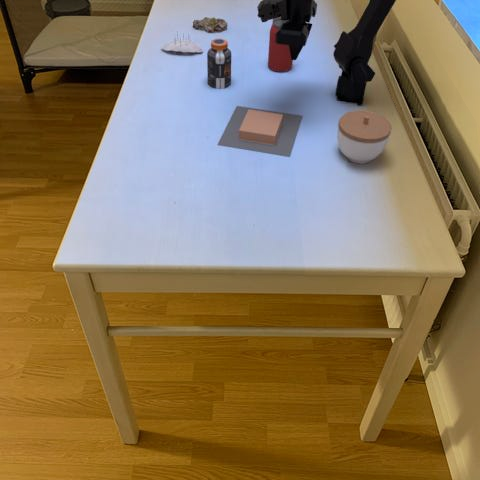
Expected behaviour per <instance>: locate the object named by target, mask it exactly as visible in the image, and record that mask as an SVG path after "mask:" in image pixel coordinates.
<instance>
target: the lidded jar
mask: <svg viewBox="0 0 480 480" xmlns="http://www.w3.org/2000/svg"><path fill="white" fill-rule="evenodd" d="M392 128H393V127H392V124H391V122H390V121H389V120H388V119H387V118H386V117H385V116H383V115H381V114H379V113H376V112H373V111H370V110H352V111H348V112H345V113H344V114H343V115H341V116H340V118H339V120H338V127H337V135H336V137H337V145H338V148H339V150H340V152H341V153H342V154H343V155H344V156H345V157H346V158H347V160H348V161H350V162H352V163H355V164H367V163H369V162H371V161H372V160H374V159H376V158H377V157H378V156H380V155H381V154H382V152H383V151H384V149H385V148H386V147H387V144H388V142H389V141H388V140H389V138H390V135H391V133H392Z"/></svg>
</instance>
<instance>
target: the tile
mask: <svg viewBox="0 0 480 480" xmlns="http://www.w3.org/2000/svg"><path fill="white" fill-rule="evenodd" d="M282 121H283V115H282V114H276V113H269V112H263V111H256V110H250V109H249V110H248V112H247V114H246V116H245V118H244V121H243V123H242V125H241V127H240V129H239V140H243V141H249V142H256V143H262V144H268V145H275V143H276V140H277V137H278V134H279V131H280V129H281V126H282Z"/></svg>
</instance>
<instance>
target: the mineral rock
mask: <svg viewBox="0 0 480 480" xmlns="http://www.w3.org/2000/svg"><path fill="white" fill-rule="evenodd" d="M192 28H194V29H195V30H198V31H201V32H203V31H204V32H206V33H208V34H216V33H218V34H220V32H223V31H226V30H227V28H228V22H227V21H226V20H225V19H224V18H216V17H214V16H213V17H206V16H205V17H203V19H194V20H193V21H192Z"/></svg>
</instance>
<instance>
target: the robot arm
mask: <svg viewBox="0 0 480 480" xmlns="http://www.w3.org/2000/svg"><path fill="white" fill-rule="evenodd" d="M396 2H397V0H369V2H368V4H367V6H366V8H365V10H364V11H363V13H362V15H361V17H360V19H359V20H358V21H357V24H356V26H355V27H354V28H353V29H351V30H350V31H349V32H346V31H345V30H343V31H342V32H341V33H340V36H339V38H338V40H337V42H336V43H335V44H334V45H333V48H334V50H333V59H334V60H335V62H336V64H337V66H338V69H341V74H340V75H338V77H337V84H336V87H335V97H336V102H337V101H338V102H345V103H349V104H350V103H351V104H355V105H356V104H357V105H358V106H363V104H364V100H365V92H366V87H367V83H369V82H372V81H373V79H374V77H375V76H376V72H375V71H374V70H373V69H372V67H371V66H370V65H369V64H368V63H369V61H370V59H371V57H372V54H373V48H374V40H375V38H376V36H377V33H379V31H380V29H381V27H382V25H383V23H384V22H385V20H386V19H387V17H388V15H389V13H390V12H391V10H392V9H393V6H394V5H395V3H396ZM317 10H318V3H317V2H316V1H315V0H261V1H260V2H259V3H258V5H257V17H258V18H260V21H261V22H262V23H266V22H268V21H271V20H273V19H275V18H278V17H281V20H282V21H286V22H285V23H283V24H282V25H280V26H279V28H278V30H277V32H276V39H275V43H277V44H283V45H289V49H290V55H291V60H293V61H296V60H297V59H298V57H299V55H300V53H301V52H302V49H303V47H306V44H307V41H308V38H309V36H310V33H311V30H312V27H313V24H312V23H310V22H311V20H312V18H315V17H316V14H317ZM287 20H288V21H287Z"/></svg>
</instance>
